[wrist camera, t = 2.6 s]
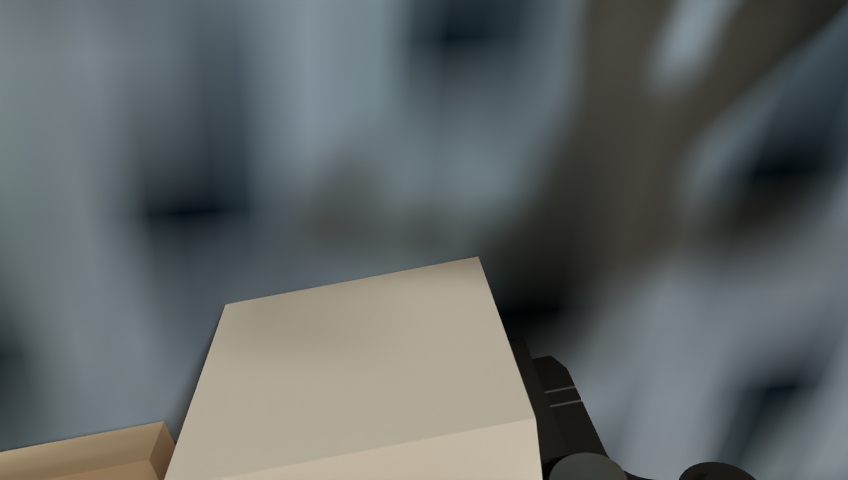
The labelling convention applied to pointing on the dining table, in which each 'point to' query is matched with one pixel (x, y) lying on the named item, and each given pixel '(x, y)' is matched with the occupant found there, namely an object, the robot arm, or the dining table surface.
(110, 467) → the birch board
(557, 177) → the dining table surface
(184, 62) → the dining table surface
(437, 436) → the grey block
